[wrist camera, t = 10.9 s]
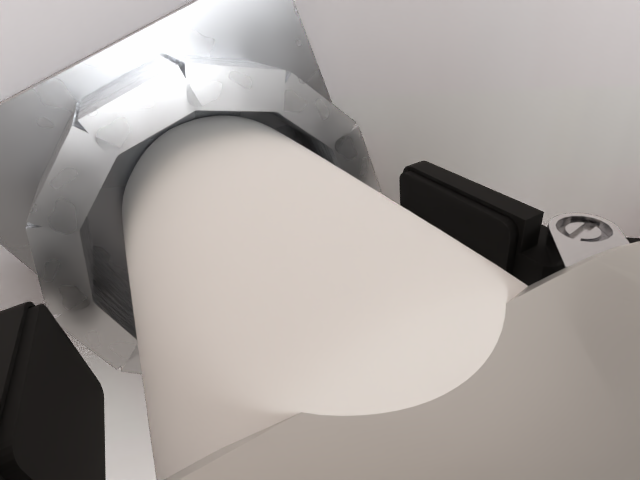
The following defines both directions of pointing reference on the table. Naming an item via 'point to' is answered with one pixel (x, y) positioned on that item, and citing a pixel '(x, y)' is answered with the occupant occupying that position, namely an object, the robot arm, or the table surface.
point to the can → (288, 291)
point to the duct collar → (147, 145)
